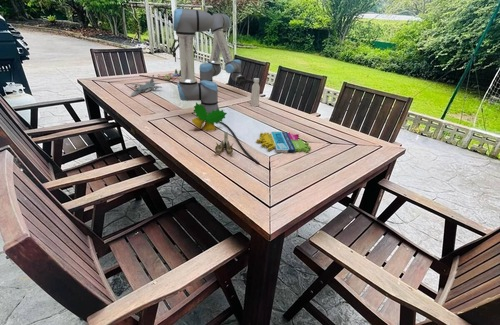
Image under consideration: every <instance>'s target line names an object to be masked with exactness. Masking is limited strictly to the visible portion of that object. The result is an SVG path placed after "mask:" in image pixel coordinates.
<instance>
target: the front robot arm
mask: <svg viewBox="0 0 500 325" xmlns="http://www.w3.org/2000/svg"><path fill="white" fill-rule="evenodd" d="M172 20H173V22H172V23H173V24H172V30H173V31H174V32H175V35H176V37H177V39H176V38H174V39H173V43H172V46H171V48H170V53H172V57H173V58H174V62H177V57H176V56H177V54H176V52H177V50H179V63H180V70H181V76H180V78H181V79H180V80H179V79H178V82H177V83H176V86H177V90H178V91H177V92H178V95H179V99H180V100H181V101H183V102H184V101H185V102H192V101H193V102H194V101H195V102H196V101H198V102H199V101H200V104H201V106H204V109H206V112H208V113H211V112H212V110H214V111H216V110H217V109H219V111H221V110H220V108H219V102H218V99H219V98H218V97H219V94H218V93H219V88H218V84H217V83H216V82H215V81H213V82H212V81H207V80H201V81H200V80H199V82H198V80H197V79H196V77H195V76H196V75H195V54H196V53H197V50H196V48H195V46H194V38H195V37H196V33H203V32H207V31H210V30H212V29H211V28H212V27H213V24H214V20H213V17H212V14H210V13H209V12H207V11H205V10H201V9H188V8H175V9H174V10H173V19H172ZM176 43H178V44H177V45H176ZM208 113H207V115H208ZM218 123H219V124H222V125H223V126H225V127H226V129H227V130H229V131H230V132H231V134H232V136H233V138H234V139H235V140H236V142H237V144H238V145H239V147H240V148H241V149H242V151H243V152H244V153H245V154H246V155H247V156H248V157H249V158H250V159H251V160H252V161H254V162H255V163H256V164H258V165H260V161H258V160H257V159H256V158H254V157H253V156H252V155H251V154H250V153H249V152H248V151H247V150H246V149H245V148H244V146H243V145H242V143H241V141H240V140H239V138H238V136H237V135H236V134H235V132H234V131H233V129H232V128H230V127H229V126H228V124H226V123H225V122H223V121H222V122H221V121H219V122H218Z"/></svg>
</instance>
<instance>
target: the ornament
mask: <svg viewBox="0 0 500 325" xmlns="http://www.w3.org/2000/svg"><path fill="white" fill-rule="evenodd" d="M219 110H220V108H219V109H217V110H216V111H214V110H212V112H211V113H208V112H206V109H204V106H201V103H198V102H196V101H195V105H194V106H193V112H194V113H195V118H192V119H191V122H192V123H193V125H195V127H197V128H198V129H202V130H203V131H206V132H212V131H213V132H214V131H215V130H216V126H215V124H218V123H219V121H220V122H223V119H226V115H227V114H228V113H227V112H224V110H223V109H221V110H220V111H219ZM207 113H208V115H207ZM214 123H215V124H214Z"/></svg>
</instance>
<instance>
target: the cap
mask: <svg viewBox="0 0 500 325" xmlns="http://www.w3.org/2000/svg"><path fill="white" fill-rule="evenodd" d="M253 80H254V82H258V83H260V78H258V77H254V78H253Z"/></svg>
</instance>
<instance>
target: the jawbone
mask: <svg viewBox="0 0 500 325" xmlns="http://www.w3.org/2000/svg"><path fill="white" fill-rule="evenodd" d="M223 135H224V136H223V140H222V139H221V142H220V144H218V142H215V144H216V146H215V148H214V149H215V152H214V154H215V155H217V156H218V155H220V153H221V152H223V151H224V150H226V152H227V153H228V155H229V156H233V155H234V154H233V153H234V148H233V144H234V143H230V140H228V139H229V138H228V137H229V136H228V135H229V133H228V131H226V132H224V134H223Z"/></svg>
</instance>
